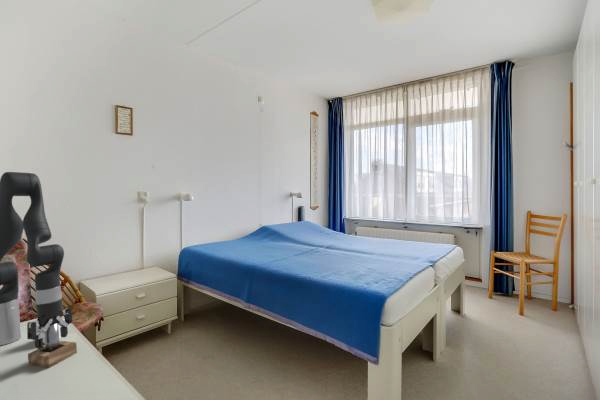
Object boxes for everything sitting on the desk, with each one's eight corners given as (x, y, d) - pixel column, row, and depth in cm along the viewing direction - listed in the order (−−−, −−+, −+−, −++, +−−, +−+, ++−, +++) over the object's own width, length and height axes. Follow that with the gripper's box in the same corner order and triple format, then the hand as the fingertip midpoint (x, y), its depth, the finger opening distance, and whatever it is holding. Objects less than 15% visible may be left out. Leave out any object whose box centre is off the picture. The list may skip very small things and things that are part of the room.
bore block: (28, 364, 110) (27, 353, 110) (57, 350, 119) (56, 340, 119) (49, 367, 107) (48, 356, 107) (76, 352, 117) (76, 342, 117)
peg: (43, 358, 112) (41, 326, 111) (54, 352, 116) (52, 321, 115) (51, 359, 111) (49, 327, 110) (62, 353, 115) (60, 322, 114)
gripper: (60, 292, 120) (63, 332, 121) (19, 306, 107) (23, 351, 107) (75, 293, 118) (78, 334, 119) (35, 307, 105) (39, 353, 105)
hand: (52, 342), depth 113 cm, fingers open, 8 cm apart
